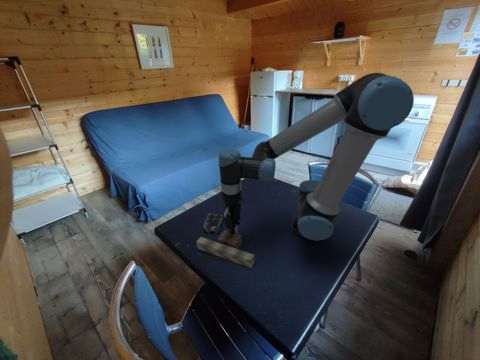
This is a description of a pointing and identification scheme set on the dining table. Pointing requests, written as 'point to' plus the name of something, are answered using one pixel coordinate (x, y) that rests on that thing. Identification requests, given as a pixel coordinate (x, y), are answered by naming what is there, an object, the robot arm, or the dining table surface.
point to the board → (225, 252)
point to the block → (230, 239)
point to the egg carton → (213, 222)
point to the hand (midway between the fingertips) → (234, 237)
